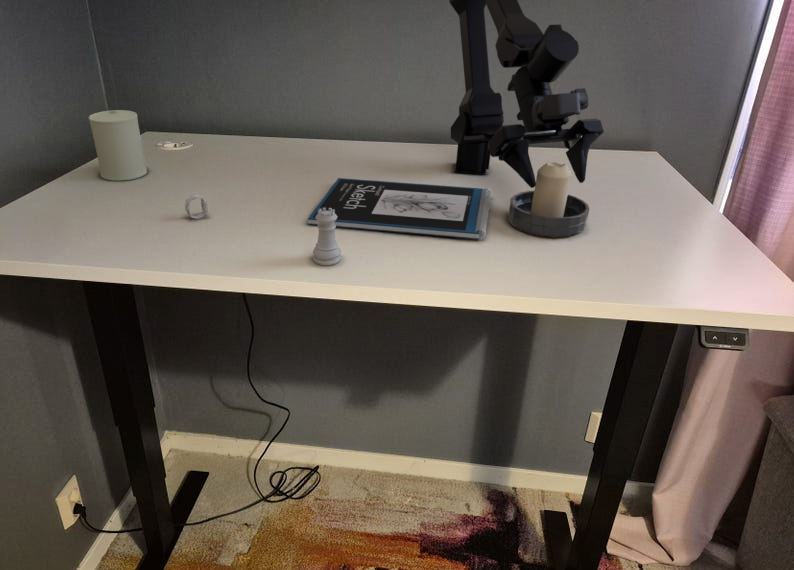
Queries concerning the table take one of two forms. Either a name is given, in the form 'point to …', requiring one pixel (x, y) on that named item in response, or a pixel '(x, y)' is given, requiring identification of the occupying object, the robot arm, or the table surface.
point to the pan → (543, 225)
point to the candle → (551, 190)
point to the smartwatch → (203, 204)
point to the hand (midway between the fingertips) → (558, 184)
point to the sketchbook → (407, 208)
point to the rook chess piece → (326, 239)
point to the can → (118, 144)
